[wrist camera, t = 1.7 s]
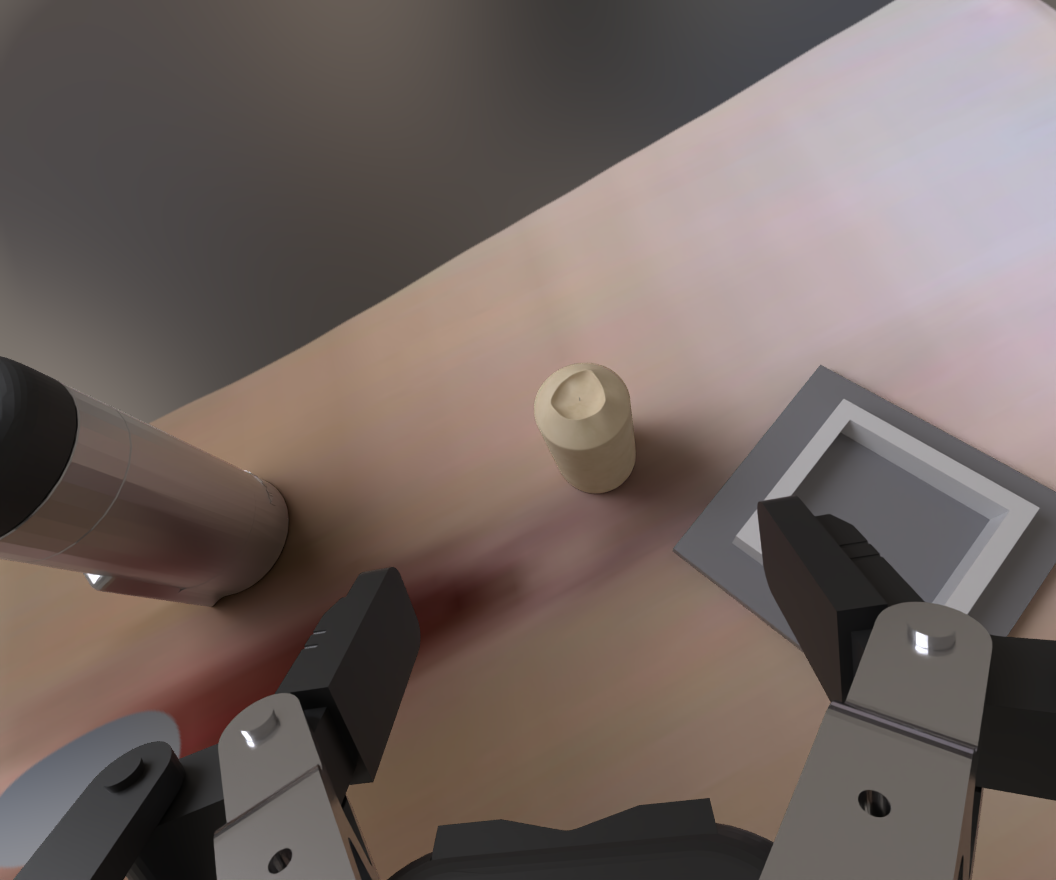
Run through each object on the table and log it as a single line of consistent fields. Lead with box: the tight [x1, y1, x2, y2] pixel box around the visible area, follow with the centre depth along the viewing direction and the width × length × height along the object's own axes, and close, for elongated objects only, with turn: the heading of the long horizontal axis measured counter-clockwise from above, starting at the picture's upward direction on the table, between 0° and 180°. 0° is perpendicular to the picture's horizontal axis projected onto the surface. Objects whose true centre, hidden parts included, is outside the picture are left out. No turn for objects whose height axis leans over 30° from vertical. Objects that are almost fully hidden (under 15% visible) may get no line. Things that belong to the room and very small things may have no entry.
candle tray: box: [673, 365, 1056, 652], centre depth 33 cm, size 16×16×3 cm
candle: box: [534, 363, 636, 493], centre depth 35 cm, size 6×6×10 cm
